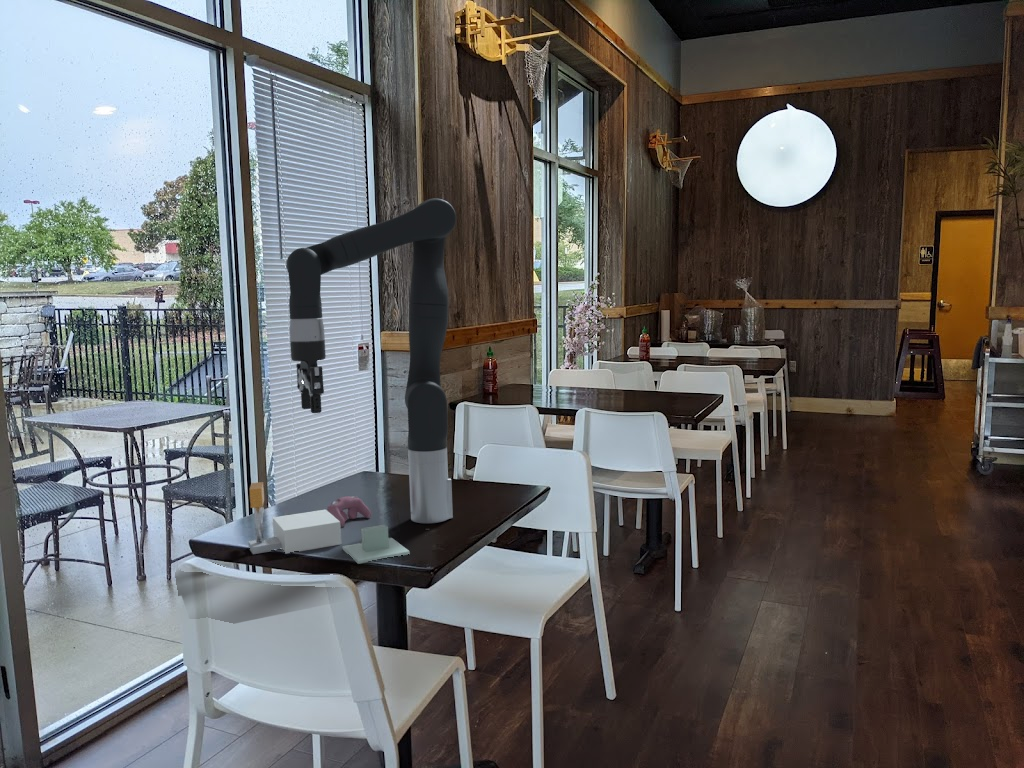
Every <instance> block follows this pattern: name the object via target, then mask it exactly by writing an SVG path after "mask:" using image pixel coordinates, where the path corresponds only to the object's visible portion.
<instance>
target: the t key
mask: <svg viewBox="0 0 1024 768" xmlns="http://www.w3.org/2000/svg"><path fill="white" fill-rule="evenodd" d="M249 502H250V508H251V509H253V513H254V516H253V517H254V527H255V528H254V529H255V540H256V542H263V541H264V539H265V537H264V536H265V535H264V525H263V523H264V522H263V519H264V514H265V507H264V503H265V489H264V482H263V481H261V482H260V481H259V482H251V484H250V486H249Z"/></svg>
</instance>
